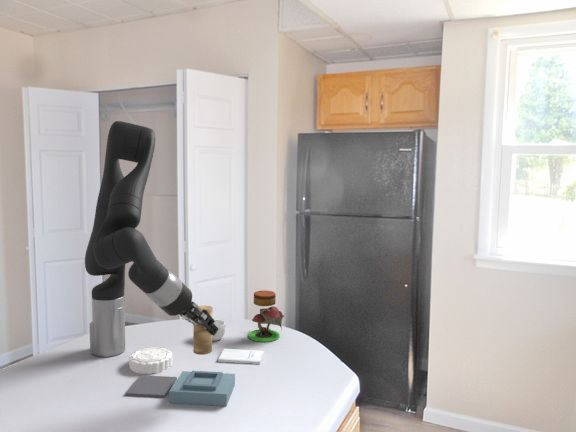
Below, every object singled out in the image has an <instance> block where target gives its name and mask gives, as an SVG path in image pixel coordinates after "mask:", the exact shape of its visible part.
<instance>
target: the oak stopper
mask: <svg viewBox="0 0 576 432" xmlns="http://www.w3.org/2000/svg"><path fill="white" fill-rule="evenodd" d="M198 307H199V308H200V309H202V310H203V309H204V310H206V311H207V312H208V313H209V314H210V316H211V317H212V318H213V307H212V306H210V305H206V304H205V305H198ZM198 317H199V316H198ZM198 317H197V318H198ZM197 318H196V319H195V321H196V320H197ZM192 331H193V334H192V335H193V343H192V344H193V345H192V346H193V347H192V349H193V350H192V351H193V353H194V354H196V355H199V356H204V355H208V354H210V353H212V352H213V341H212V335H211V334H210V333H209V332H208V331H207V330H205V329H204V328H203V327H202V326H200V325H196V324H194V325H193V330H192Z"/></svg>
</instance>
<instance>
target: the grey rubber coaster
mask: <svg viewBox="0 0 576 432" xmlns="http://www.w3.org/2000/svg"><path fill="white" fill-rule="evenodd" d="M177 379H178V377H177V376H168V375H167V376H166V375H165V376H162V375H148V374H140V375H139V377H137V379H136V380H135V381H134V382H133V383H132V384H131V386H130V387H129V388H128V390H126V392H125V393H124V394H125V396H130V397H150V398H166V396H167V395H168V394H169V391H170V389H171V388H172V386H173V385H174V383H175V382H176V380H177Z"/></svg>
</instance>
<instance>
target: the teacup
mask: <svg viewBox="0 0 576 432" xmlns="http://www.w3.org/2000/svg"><path fill="white" fill-rule="evenodd" d="M213 319H214V320H215V322H214V323H213V324H214V325H216V326H217V327H218V331H217V333H216V334H215V335H214V336H213V335H212V342H217V341H220V340H221V339H223V337H224V336H225V333H226V321H225V320H222V319H219V318H213Z"/></svg>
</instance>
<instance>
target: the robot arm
mask: <svg viewBox="0 0 576 432" xmlns="http://www.w3.org/2000/svg"><path fill="white" fill-rule="evenodd" d="M155 148H156V133H155V130H153V129H152V128H149V127H147V126H143V125H138V124H134V123H130V122H125V121H122V120H121V121H120V120H116V121H114V122H112V124H111V126H110V128H109V131H108V134H107V141H106V149H105V155H104V156H105V159H104V166H103V173H102V174H103V175H102V179H101V183H100V187H99V191H98V196H97V200H96V201H97V202H96V205H95V206H96V207H95V214H94V218H93V219H94V220H93V226H92V230H91V233H90V237H89V241H88V244H87V247H86V250H85V257H84V268H85V271H86V272H87V274H88V275H89V276H94V277H95V276H96V277H98V276H99V277H100V276H107V275H109V276H108V277H107V278H106V279H105V280H104V281H103V282H101V283H98V284H96V285H95V286H94V287H92V289H91V316H92V318H91V319H92V321H91V322H90V323H89V353H90V355H94V356H97V357H100V358H101V357H103V358H104V357H105V358H108V357H113V356H118V355H120V354H123V353H124V352H126V314H125V312H126V308H125V285H126V281H125V280H126V264H128V263H131V262H132V264H131V266H130V267H129V269H128V274H127V275H128V278H129V280H130V281H131V282H132V283H133V284H134V285H135V286H136V287H138V288H139V289H140V290H141V291H142V292H143V293H144V294H145V295H146V296H147V298H148V299H149V300H150V301H152V303H154V304H155V305H156V306H157V307H158V308H160V310H161V311H163V312H164V313H166V314H167V315H168V316H170V317H172V316H173V317H174V316H179V317H180V318H181V319H182V320H185V321H187V322H188V323H191V324H192V325H193V326H194V324H196V325H200V326H202V327H203V328H204V329H205V330H207V331H208V332H209V333H210V334H211V335H213V336H214V335H215V334H216V333H217V331H218V327H217V326H216V325H214V324H213V323H214V322H215V320H214V319H215V318H213V316H212V317H211V316H210V314H209V313H208V312H207V311H206V310H204V309H203V310H202V309H200V308H199V307H198V306H199V305H198V304H197V303H196V302H194V301H193V292H192V290H191V289H190V288H189V287H188V286H186V284H185V283H184V282H182V281H181V280H180V278H178V277H177V276H176V275H175V274H174V273H172V271H170V270H168V269H167V268H166V266H164V265H163V264H162V262H160V261H159V260H157V257H156V256H155V254H154V252H153V250H152V249H151V247H150V245H149V243H148V241H147V240H146V238H145V235H143V234H142V232H140V230H138V229H136V228H137V227H138V226H139V225H140V222H141V219H142V217H141V216H142V210H143V209H142V208H143V200H144V199H143V198H144V193H145V189H146V184H147V181H148V178H149V174H150V171H151V166H152V162H153V158H154V152H155ZM120 160H122V161H127V162H132V163H137V164H136V166H135V167H134V168H133V169H132V170H131V171H130V172H128V173H127V174H126V176H124V174H123V172H122V168H121V166H120ZM198 316H199V317H198ZM197 317H198V318H197ZM196 318H197V320H196V321H195V319H196Z"/></svg>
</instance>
